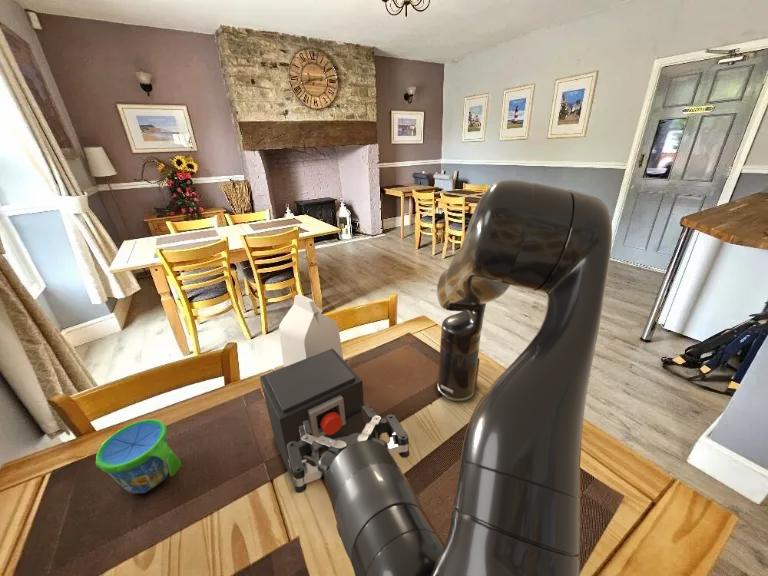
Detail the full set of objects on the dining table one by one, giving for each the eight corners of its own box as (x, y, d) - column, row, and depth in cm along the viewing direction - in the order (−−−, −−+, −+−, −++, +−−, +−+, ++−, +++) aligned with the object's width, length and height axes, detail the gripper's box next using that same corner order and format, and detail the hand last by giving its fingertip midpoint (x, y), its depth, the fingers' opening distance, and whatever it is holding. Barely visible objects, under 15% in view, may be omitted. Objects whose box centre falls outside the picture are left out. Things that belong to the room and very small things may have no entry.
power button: (339, 422, 58) (337, 408, 56) (343, 428, 56) (341, 414, 55) (321, 432, 56) (319, 417, 54) (325, 438, 55) (323, 423, 53)
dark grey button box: (339, 408, 77) (332, 345, 69) (373, 454, 65) (369, 385, 57) (274, 440, 69) (258, 374, 61) (300, 500, 57) (283, 427, 49)
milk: (286, 384, 85) (269, 299, 74) (319, 363, 93) (308, 284, 82) (313, 405, 78) (298, 315, 67) (346, 380, 86) (338, 296, 75)
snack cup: (202, 463, 64) (188, 428, 60) (154, 516, 55) (134, 479, 51) (147, 444, 69) (130, 410, 64) (94, 491, 59) (70, 455, 55)
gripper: (436, 445, 32) (380, 383, 47) (293, 493, 27) (281, 406, 42) (439, 510, 33) (383, 429, 48) (302, 567, 28) (287, 457, 43)
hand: (335, 418), depth 45 cm, fingers open, 8 cm apart
